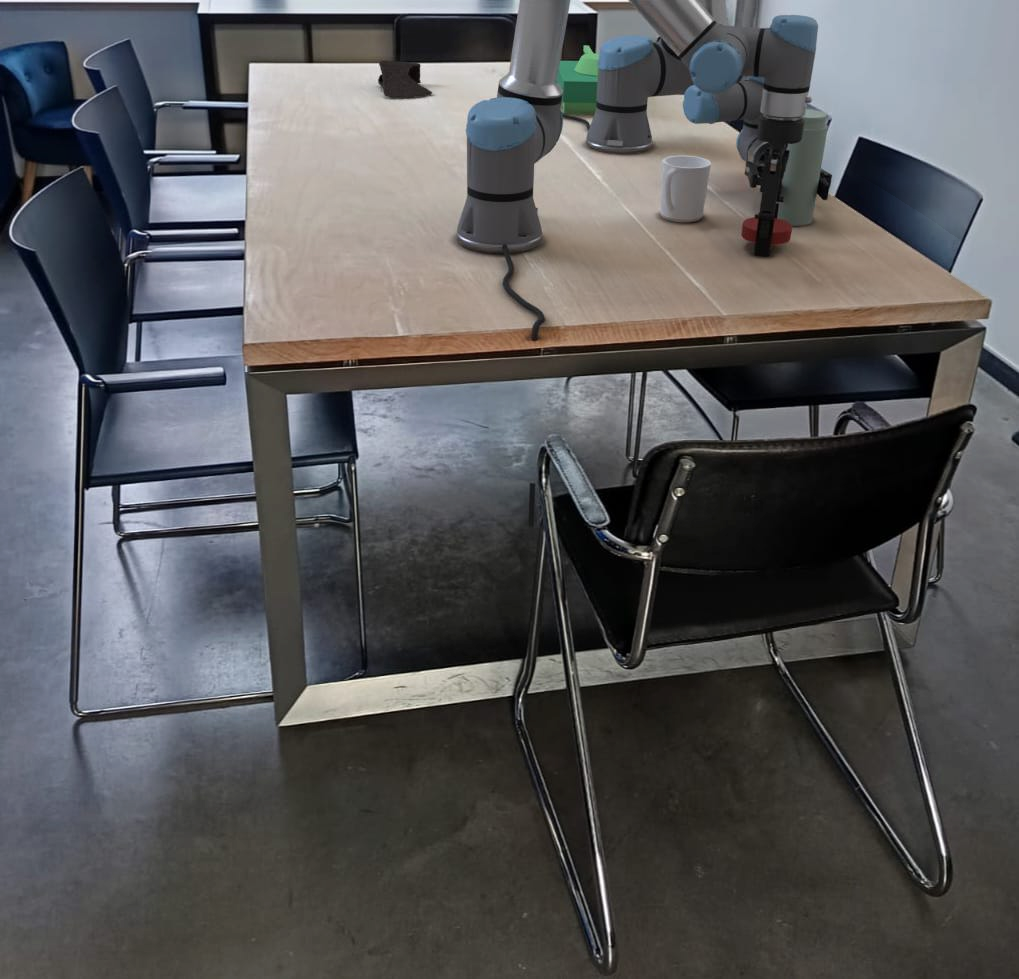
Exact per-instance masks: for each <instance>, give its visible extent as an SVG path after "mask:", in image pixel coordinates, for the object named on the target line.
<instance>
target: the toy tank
mask: <svg viewBox="0 0 1019 979" xmlns="http://www.w3.org/2000/svg"><path fill="white" fill-rule="evenodd" d="M599 54H600V53H594V52H593V50H592V49H591V47H590V45H586V44H585V45H583V55H581V57H580V58H579V60H560V64H559V70H558V76H557V83H558V84H559V86H560V87H561V88H562V90H563V96H562V102H561V104H562V114H566V115H570V114H571V115H574V114H575V115H594V114H595V111H596V100H597V82H598V60H599Z"/></svg>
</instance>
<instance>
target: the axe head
mask: <svg viewBox="0 0 1019 979" xmlns="http://www.w3.org/2000/svg"><path fill="white" fill-rule="evenodd" d="M378 66H379V68H380V72H381V74H379V75H378V79H377V84H378V85H379V86H380V87H381V88H382V89H383V95H384V96H385V97H388V98H394V99H395V98H396V99H403V98H405V99H406V98H407V99H411V98H418V97H425V96H429V95H432V94H433V91H431V90H430V89H428V88H427V87H425V86H422V85H421V84H422V82H421V63H419V62H410V61H408V62H407V61H397V60H388V59H387V60H380V61H379V62H378Z"/></svg>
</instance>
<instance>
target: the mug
mask: <svg viewBox="0 0 1019 979" xmlns="http://www.w3.org/2000/svg"><path fill="white" fill-rule="evenodd" d="M711 167H712V162H711V161H710V160H709V159H707V158H704V157H700V156H695V155H670V156H667V157H665V158H663V159H662V169H661V170H662V172H661V189H660V190H661V192H660V193H661V195H660V212H659V213H660V216H661V218H663V219H664V220H667V221H670V222H676V223H693V222H695V223H696V222H698V221H700V220H701V219H703V216H704V210H705V204H706V197H707V191H708V185H709V178H710V173H711Z"/></svg>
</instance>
